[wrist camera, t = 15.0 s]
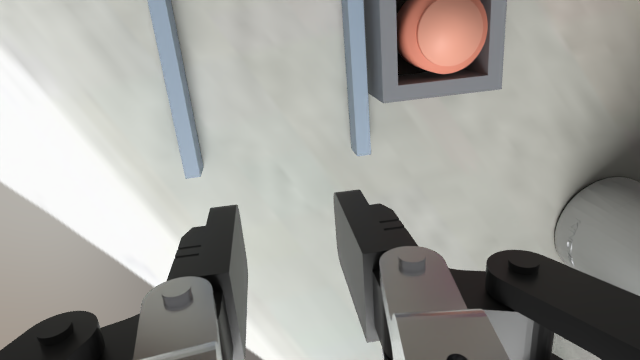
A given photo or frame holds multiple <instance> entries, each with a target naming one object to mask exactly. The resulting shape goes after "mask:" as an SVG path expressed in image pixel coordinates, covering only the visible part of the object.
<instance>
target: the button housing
mask: <svg viewBox="0 0 640 360" xmlns="http://www.w3.org/2000/svg"><path fill="white" fill-rule="evenodd" d="M480 1H481V3H482V4H483V6H484V9H485V11H486V15H487V21H488V30H487V36H486V40H485V43H484V45H483V47H482V50H481V51H480V53H479V54H478V56H477V57H476V58H475V59H474V60H473V61H472V62H471V63H470V64H469V65H468V66H466V67H465V68H463V69H461V70H459V71H457V72H454V73H449V74H438V73H434V72H425V73H416V74H408V75H399V76H398V62H397V22H396V0H364V18H365V38H366V58H367V79H368V93H369V94H370V95H372V96H373V97H375V98H376V99H378V100H379V101H381V102H382V103H389V102H397V101H406V100H414V99H422V98H431V97H439V96H448V95H456V94H464V93H473V92H481V91H490V90H498V89H502V73H503V56H504V39H505V22H506V6H507V0H480Z"/></svg>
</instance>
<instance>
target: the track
mask: <svg viewBox="0 0 640 360" xmlns="http://www.w3.org/2000/svg"><path fill="white" fill-rule="evenodd" d="M148 5H149V9H150V14H151V19H152V23H153V28H154V33H155V37H156V42H157V47H158V51H159V56H160V61H161V66H162V70H163V75H164V80H165V84H166V89H167V94H168V98H169V103H170V108H171V112H172V117H173V122H174V126H175V131H176V136H177V140H178V145H179V150H180V154H181V159H182V164H183V169H184V173H185V178H194V177H201V174H202V171H203V162H202V157H201V152H200V147H199V142H198V137H197V131H196V126H195V121H194V116H193V111H192V106H191V101H190V96H189V91H188V86H187V80H186V75H185V70H184V65H183V60H182V55H181V50H180V45H179V40H178V35H177V29H176V24H175V19H174V14H173V9H172V4H171V0H148ZM342 14H343V29H344V44H345V59H346V74H347V89H348V104H349V119H350V135H351V148H352V150H353V151H354V153H355V154H356V155H357V156H363V155H370V154H371V146H370V126H369V106H368V85H367V65H366V45H365V25H364V5H363V0H342Z"/></svg>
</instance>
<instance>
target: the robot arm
mask: <svg viewBox="0 0 640 360" xmlns="http://www.w3.org/2000/svg"><path fill="white" fill-rule="evenodd" d="M334 212H335V225H336V239H337V249H338V256H339V260H340V264H341V267H342V270H343V273H344V276H345V279H346V282H347V285H348V288H349V291H350V294H351V297H352V300H353V303H354V306H355V309H356V312H357V315H358V318H359V321H360V324H361V327H362V329H363V332H364V335H365V338H366V341H367V343H368V342H374V341H380V342H381V345H382V353H383V360H563V359H561V358H560V357H558V356H556V355H555V354H553V353H551V352H552V345H553V338H554V333H556V334H558V335H560V336H561V337H563V338H565V339H567V340H569V341H570V342H572V343H574V344H576V345H578V346H579V347H581V348H583V349H585V350H587V351H588V352H590V353H592V354H594V355H596V356H597V357H599V358H600V359H601V360H640V182H637V181H635V180H632V179H629V178H625V177H612V178H606V179H603V180H600V181H597V182H595V183H593V184H591V185H589V186H588V187H586V188H584V189H583V190H582V191H581V192H579V193H578V194H577V195H576V196H575V197H574V198H573V199H572V200H571V201H570V202H569V203H568V205H567V206H566V208H565V209H564V211H563V212H562V214H561V216H560V218H559V221H558V223H557V227H556V231H555V245H556V249H557V253H558V254H559V256H560V258H561V259H562V260H563V261H564V262H565V263H566V264H567V265H568V266H567V265H564V264H562V263H560V262H557V261H555V260H552V259H550V258H548V257H545V256H543V255H540V254H537V253H533V252H529V251H523V250H506V251H500V252H497V253H495V254H493V255H491V256H490V257H489V258H488V260H487V265H486V271H466V270H455V269H450V268H448V266H447V264H446V262H445V260H444V258H443V257H442V256H441V255H440V254H438V253H437V252H435V251H433V250H430V249H428V248H424V247H418V245H417V244H416V242H415V241H414V239H413V238H412V237H411V235H410V234H409V232H408V231H407V230H406V228H404V225H403V224H402V222H401V221H399V218H398V217H397V215H396V214H395V213H394V211H393V210H392V209H390V208H388V207H386V206H384V205H382V204H373V205H369V204H368V202H367V201H366V199H365V197H364V196H363V194H362V192H361V191H360V190H352V191H344V192H336V193H334ZM247 289H248V268H247V258H246V252H245V245H244V239H243V233H242V226H241V220H240V214H239V209H238V205H230V206H222V207H214V208H210V211H209V215H208V219H207V224H206V226H201V227H193V228H192V229H190V230H189V231H188V232H187V233H186V234H185V235H184V236H183V237H182V238H181V241H180V244H179V247H178V250H177V253H176V255H175V259H174V261H173V264H172V267H171V270H170V273H169V276H168V279H167V281H166V282H164V283H162V284H160V285H158V286H156V287H155V288H153V289H152V290H151V291H150V292H149V293H147V295H146V296H145V297H144V299H143V301H142V304H141V311H140V314H138V315H135V316H133V317H131V318H128V319H126V320H123V321H120V322H117V323H114V324H111V325H108V326H105V327H102V328H100V326H99V322H98V319H97V317H96V316H95V315H94V314H92V313H90V312H86V311H73V312H66V313H62V314H59V315H56V316H53V317H50V318H48V319H46V320H44V321H42V322H40V323H38V324H36V325H35V326H33V327H32V328H30V329H29V330H27V331H26V332H25V333H24V334H22V335H21V336H19V337H18V338H17V339H15V340H14V341H12V343H10V344H8V345H7V346H6V347H4V348H3V349H2V350H0V360H245V344H246V317H247Z"/></svg>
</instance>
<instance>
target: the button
mask: <svg viewBox="0 0 640 360" xmlns="http://www.w3.org/2000/svg"><path fill="white" fill-rule="evenodd" d="M396 22H397V50H398V52H399V54H400V55H401V57H402V58H403V59H404V60H405V61H406V62H408V63H409V64H411V65H412V66H415V67H418V68H421V69H424V70H427V71H430V72H434V73H438V74H449V73H454V72H457V71H459V70H461V69H463V68H465V67H466V66H468V65H469V64H470V63H471V62H472V61H473V60H474V59H475V58H476V57H477V56H478V54H479V53H480V51H481V50H482V47H483V45H484V43H485V40H486V36H487V30H488V21H487V15H486V11H485V9H484V6H483V4H482V3H481V1H480V0H407V1H406V2H405V3H404V4H403V6H402V7H401V8H400V10H399V12H398V14H397V17H396Z"/></svg>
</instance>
